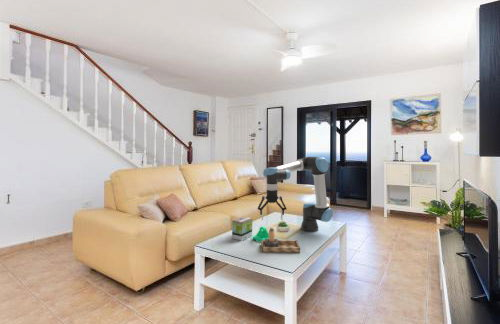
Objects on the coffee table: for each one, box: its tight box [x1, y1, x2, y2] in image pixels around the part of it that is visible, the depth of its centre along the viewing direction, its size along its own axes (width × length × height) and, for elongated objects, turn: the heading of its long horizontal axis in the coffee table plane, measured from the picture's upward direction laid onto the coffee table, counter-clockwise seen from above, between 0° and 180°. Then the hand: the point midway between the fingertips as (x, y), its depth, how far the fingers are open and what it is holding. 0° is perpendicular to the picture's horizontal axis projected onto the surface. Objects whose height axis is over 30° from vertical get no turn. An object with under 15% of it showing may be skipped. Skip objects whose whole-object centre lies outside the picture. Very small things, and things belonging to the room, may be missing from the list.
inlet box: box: [260, 238, 301, 254], centre depth 184 cm, size 26×14×6 cm, turn 89°
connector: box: [268, 227, 276, 242], centre depth 184 cm, size 4×4×14 cm
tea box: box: [231, 216, 253, 242], centre depth 207 cm, size 15×10×15 cm
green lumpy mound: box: [252, 225, 269, 243], centre depth 201 cm, size 12×8×10 cm, turn 56°
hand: (272, 219), depth 183 cm, fingers open, 13 cm apart
